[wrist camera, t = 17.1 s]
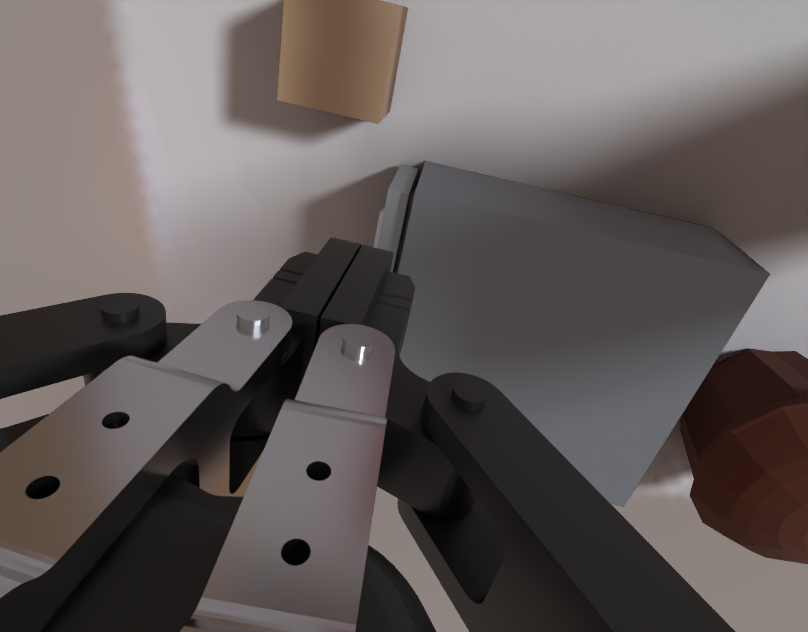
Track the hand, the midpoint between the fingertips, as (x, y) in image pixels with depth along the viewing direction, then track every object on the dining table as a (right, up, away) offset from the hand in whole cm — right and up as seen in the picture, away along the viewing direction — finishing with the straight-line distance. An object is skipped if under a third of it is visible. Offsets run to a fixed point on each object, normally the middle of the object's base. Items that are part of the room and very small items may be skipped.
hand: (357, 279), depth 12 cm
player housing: (+9, -1, +20) cm, 22 cm away
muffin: (+24, -7, +21) cm, 33 cm away
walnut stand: (-2, +13, +14) cm, 19 cm away
